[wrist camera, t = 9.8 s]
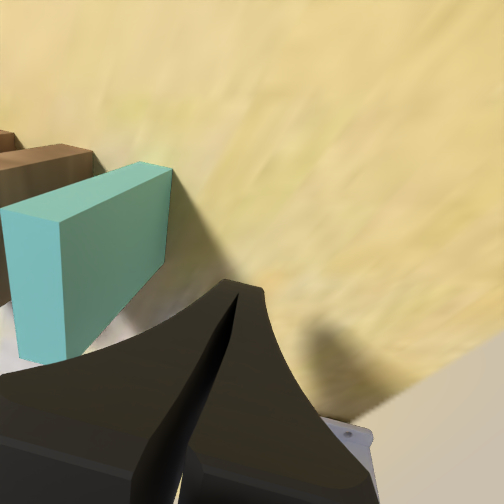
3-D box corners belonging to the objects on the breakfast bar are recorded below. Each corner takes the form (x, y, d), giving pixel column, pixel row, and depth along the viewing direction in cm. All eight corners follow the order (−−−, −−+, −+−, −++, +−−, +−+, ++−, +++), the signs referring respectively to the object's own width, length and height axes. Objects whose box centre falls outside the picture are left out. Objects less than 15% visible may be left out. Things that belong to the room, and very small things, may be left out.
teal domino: (172, 168, 16) (59, 222, 8) (164, 262, 18) (67, 370, 11) (139, 161, 16) (-1, 208, 9) (135, 255, 18) (19, 358, 11)
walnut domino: (92, 150, 16) (-85, 187, 9) (93, 245, 18) (-50, 340, 11) (60, 143, 16) (-141, 174, 9) (65, 238, 18) (-96, 327, 11)
